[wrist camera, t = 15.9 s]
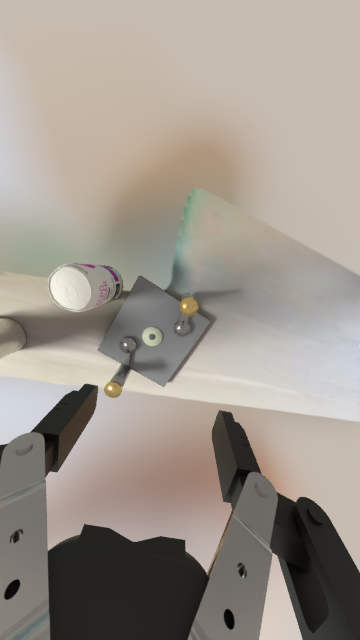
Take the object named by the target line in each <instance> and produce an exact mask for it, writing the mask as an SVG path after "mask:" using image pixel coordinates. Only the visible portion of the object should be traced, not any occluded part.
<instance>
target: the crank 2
mask: <svg viewBox="0 0 360 640" xmlns="http://www.w3.org/2000/svg"><path fill="white" fill-rule="evenodd" d="M198 308H199V305H198V302H197V301H196V300H195V299H194V297H193V296H192V295H191V294H188V293H187V294H184V295H183V296H182V298H181V302H180V305H179V309H180V312H181V317H180V320H179V321H177V322H176V323H175V325H174V332H175V334H176V335H178V336H180V337H185V336H187V335H188V334H189V333H190V330H191V328H190V324H189V322H188V317H190V316H193V315H195V314H196V313H197V311H198Z"/></svg>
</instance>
